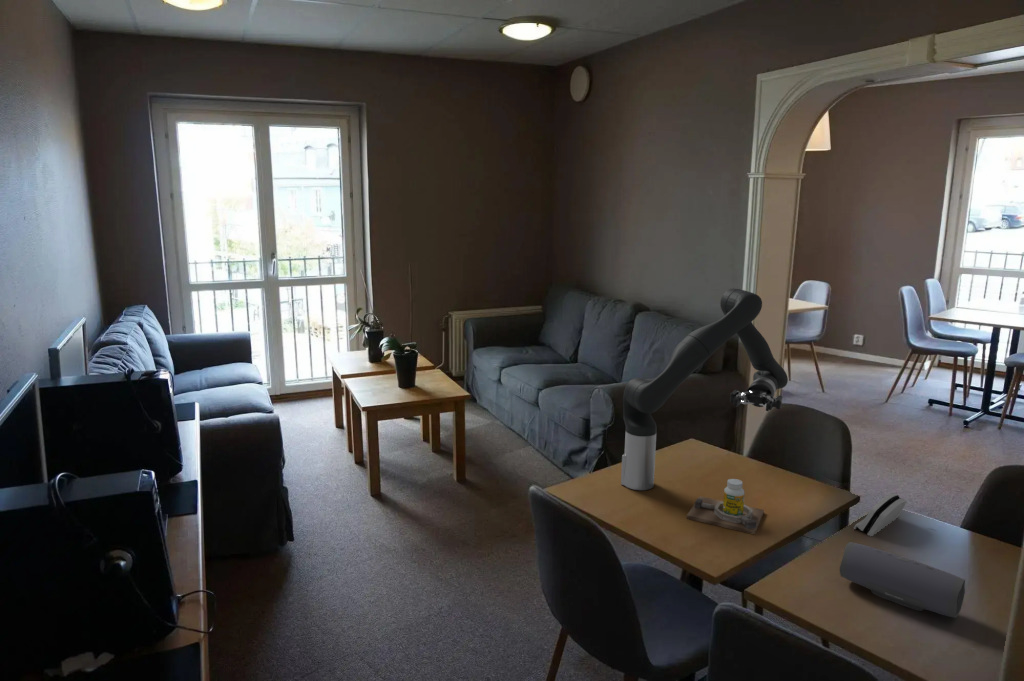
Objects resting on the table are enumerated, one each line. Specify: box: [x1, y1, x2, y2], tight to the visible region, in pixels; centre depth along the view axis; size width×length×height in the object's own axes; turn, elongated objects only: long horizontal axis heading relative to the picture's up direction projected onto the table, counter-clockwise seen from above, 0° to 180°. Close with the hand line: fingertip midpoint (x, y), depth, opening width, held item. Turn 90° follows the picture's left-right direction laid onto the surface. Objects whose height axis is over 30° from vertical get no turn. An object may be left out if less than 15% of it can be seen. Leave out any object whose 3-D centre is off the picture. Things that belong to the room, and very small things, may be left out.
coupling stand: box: [686, 495, 765, 535], centre depth 189 cm, size 18×14×3 cm
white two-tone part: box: [853, 492, 907, 537], centre depth 184 cm, size 17×5×10 cm, turn 130°
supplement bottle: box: [723, 478, 745, 516], centre depth 188 cm, size 5×5×10 cm
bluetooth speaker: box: [839, 541, 966, 619], centre depth 150 cm, size 23×9×10 cm, turn 46°
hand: (751, 405), depth 197 cm, fingers open, 8 cm apart
